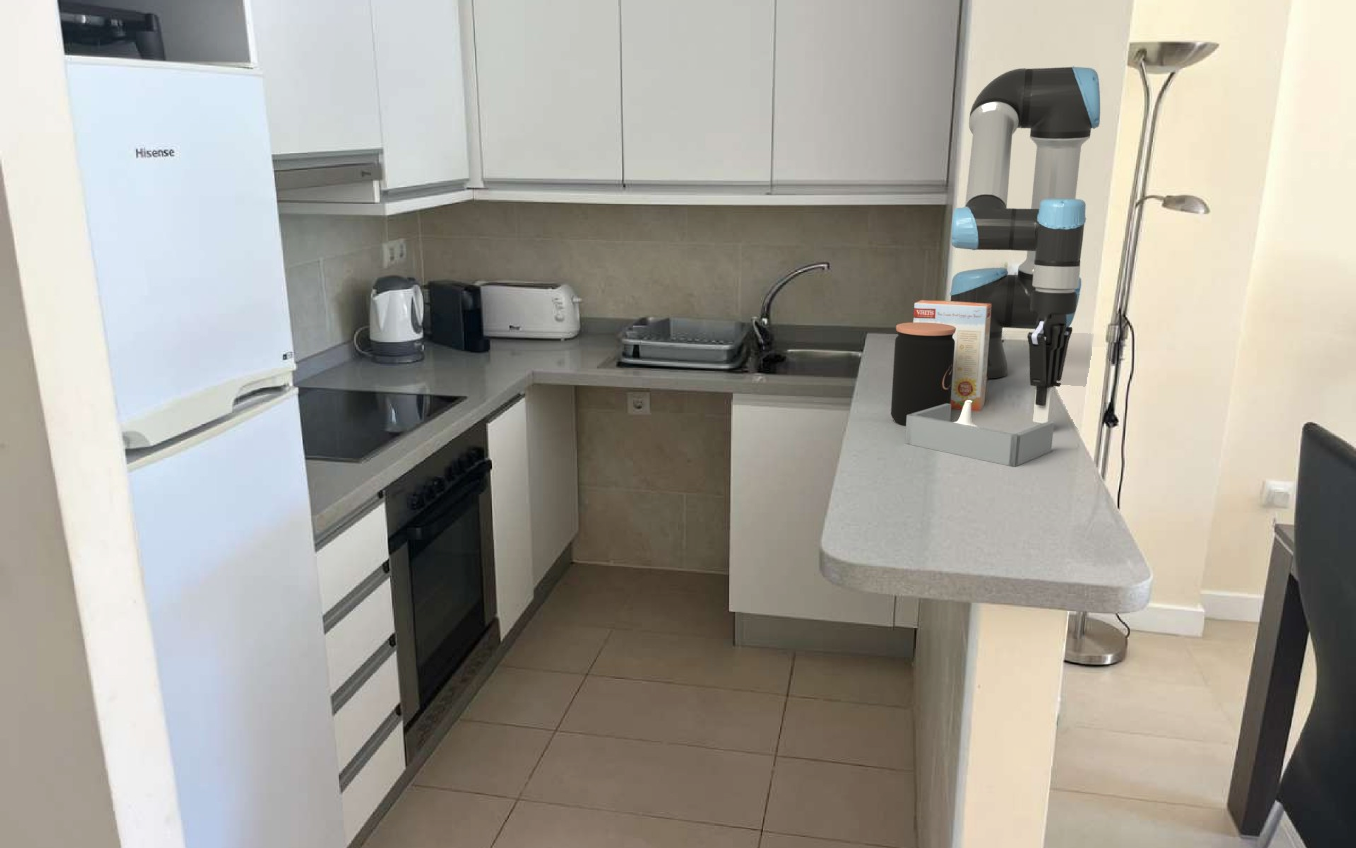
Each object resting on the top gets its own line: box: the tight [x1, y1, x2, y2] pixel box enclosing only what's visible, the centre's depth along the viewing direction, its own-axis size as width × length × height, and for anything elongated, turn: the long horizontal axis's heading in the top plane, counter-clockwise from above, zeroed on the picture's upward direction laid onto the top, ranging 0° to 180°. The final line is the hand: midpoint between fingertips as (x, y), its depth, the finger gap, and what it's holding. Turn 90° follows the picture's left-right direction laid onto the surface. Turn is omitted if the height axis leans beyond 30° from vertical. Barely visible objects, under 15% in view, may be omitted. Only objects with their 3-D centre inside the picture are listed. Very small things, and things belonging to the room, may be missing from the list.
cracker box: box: [912, 299, 991, 412], centre depth 197 cm, size 14×6×21 cm, turn 64°
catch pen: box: [904, 403, 1055, 468], centre depth 169 cm, size 13×20×5 cm, turn 45°
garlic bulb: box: [953, 400, 979, 427], centre depth 170 cm, size 6×6×8 cm
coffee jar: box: [890, 321, 956, 427], centre depth 185 cm, size 11×11×18 cm
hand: (1041, 422), depth 179 cm, fingers closed
